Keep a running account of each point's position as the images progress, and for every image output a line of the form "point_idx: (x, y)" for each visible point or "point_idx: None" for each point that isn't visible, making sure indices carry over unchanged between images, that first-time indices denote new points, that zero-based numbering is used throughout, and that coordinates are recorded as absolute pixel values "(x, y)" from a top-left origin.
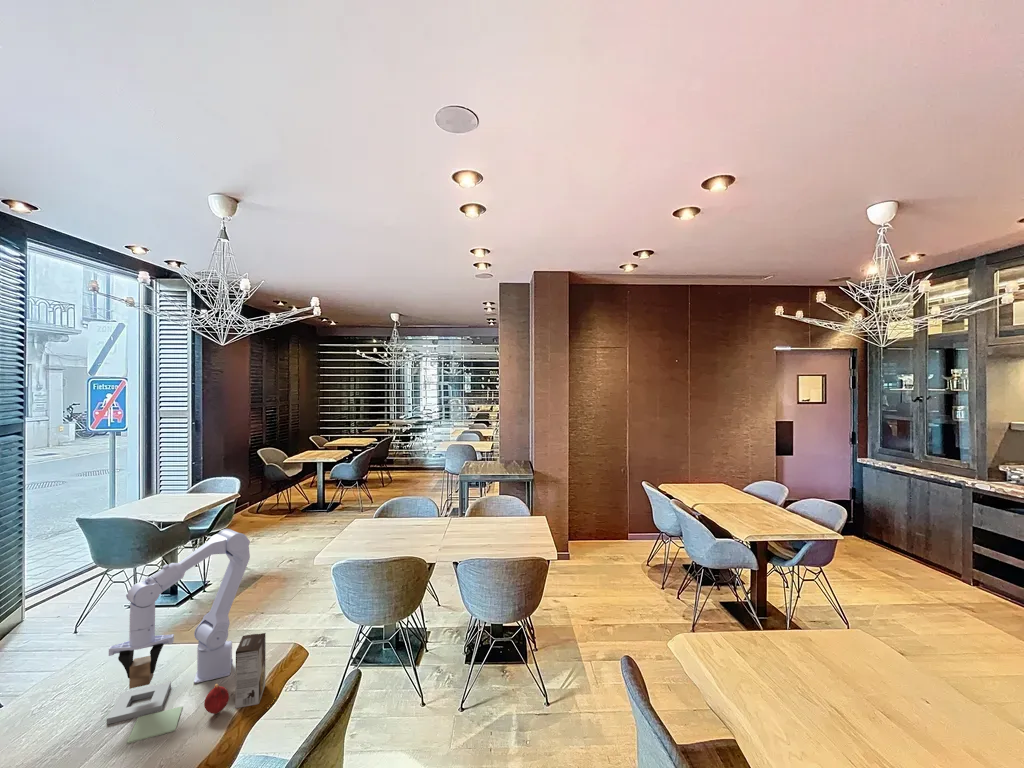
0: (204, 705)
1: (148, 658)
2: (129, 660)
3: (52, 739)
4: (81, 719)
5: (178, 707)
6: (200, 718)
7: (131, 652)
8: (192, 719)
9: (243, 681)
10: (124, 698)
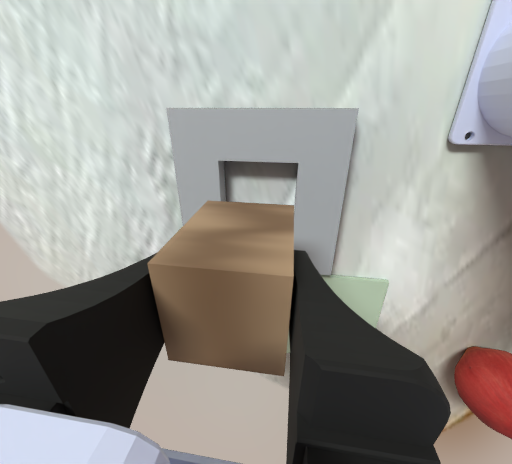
0: (458, 387)
1: (261, 313)
2: (138, 393)
3: (91, 251)
4: (111, 192)
5: (377, 282)
6: (427, 346)
7: (92, 399)
8: (407, 340)
9: None
10: (198, 166)
